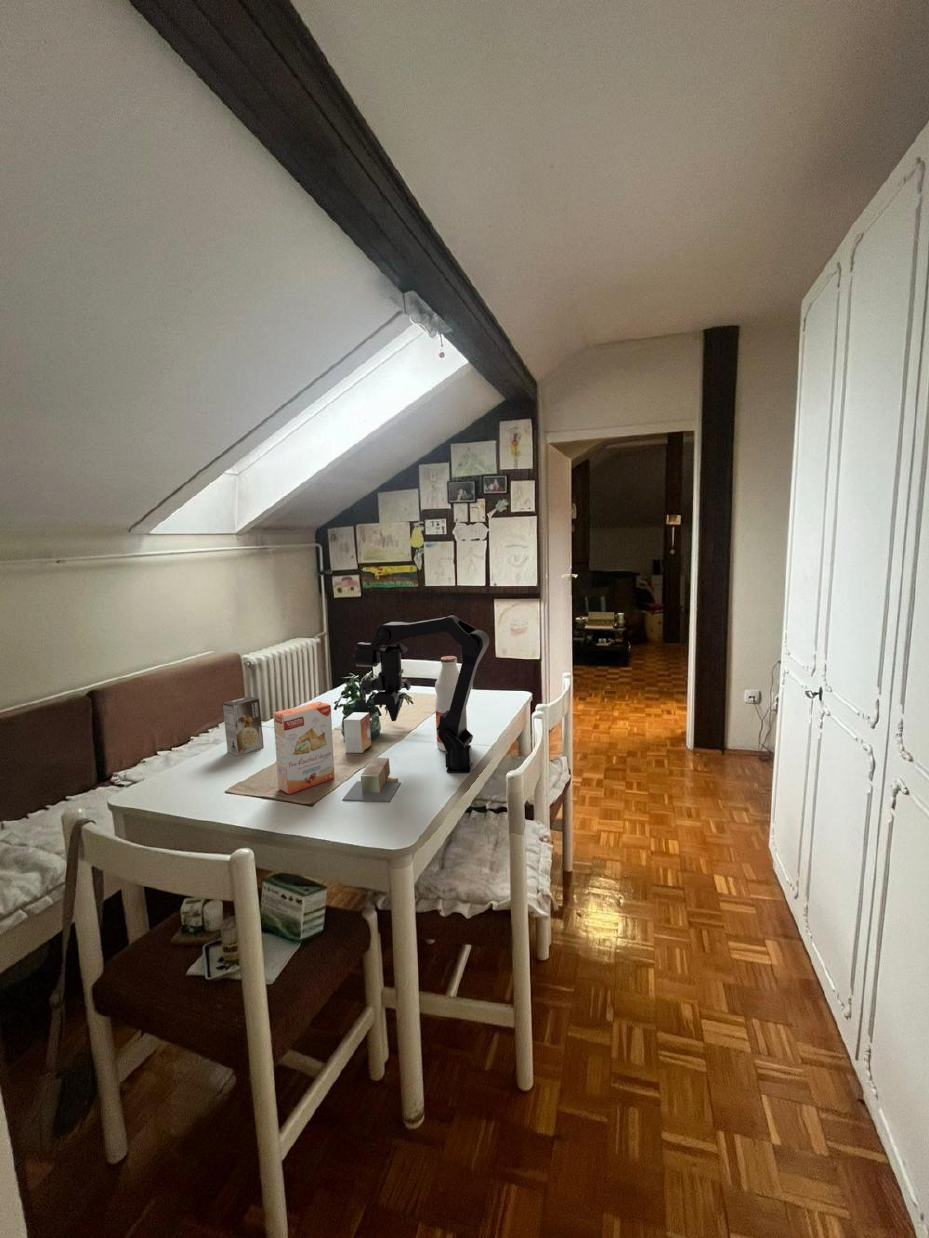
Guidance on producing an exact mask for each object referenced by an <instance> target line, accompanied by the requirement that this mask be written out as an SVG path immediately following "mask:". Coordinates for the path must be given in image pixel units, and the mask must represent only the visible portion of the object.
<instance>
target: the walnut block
mask: <svg viewBox="0 0 929 1238" xmlns="http://www.w3.org/2000/svg"><path fill="white" fill-rule="evenodd" d="M390 767H391V766H390V758H389V757H372V758H371V759H370V761H369V763H368V764H367V765H366V767H365V769H364V770H363V772H362V773H361V775H360V781H361V784H362V792H375V793H379V792H380V791H381V789H382V787H383V785H384V783H385V782H386V780H387V778H389V776H390V775H391V768H390Z"/></svg>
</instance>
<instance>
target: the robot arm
mask: <svg viewBox="0 0 929 1238" xmlns="http://www.w3.org/2000/svg"><path fill="white" fill-rule="evenodd" d="M445 632H446V633H448V634H449V635H450V636H451V637H452V639H453V640H454V641H455V642H456V643H458V644H459V645H461V649H460V650H461V651H460V654H461V666H460V670H459V676H458V680H457V684H456V687H455V691H454V695H453V699H452V702H451V706H450V710H449V711H448V710H447V711H446V712H445V713H444V714H442V715H441V716H440V720H439V726H438V728H437V729H436V730H439V731H438V737H439V738H440V740H441V741H442V742H443V744H444V747H445V749H446V751H445V753H444V755H445V757H444V758H445V760H444V761H445V768H446V773H466V774H467V773H471V770H472V768H473V765H474V763H473V762H472V745H471V743H472V741H473V738H474V735H473V734H472V733H471V732H470V731H469V730H468V728H467V729H466V728H465V723H466V718H465V709H466V710H467V705H468V701H469V698H470V694H471V691H472V686H473V683H474V679H475V676H476V672H477V669H478V666H479V663H480V662H481V660H482V659H483V656H484V655H485V653H486V651H487V649H488V647H489V645H490V637H489V635H488V634H487V633H486V632H485V631H483V630H481V629H477V628H476V627H475V626H473V625H471V624H470V623H468V622H465V621H463V620H462V619H460V618H459V616H458V617H457V616H456V615H451V614H450V615H449V616H446V617H439V618H434V619H428V620H427V619H426V620H421V621H416V622H415V621H414V622H405V621H390V622H388V623H384V624H382V625H378V627H377V629H376V632H375V637H374V638H373V640H372V641H371V642H358V643H356V647H355V649H354V653H353V655H352V656H353V662H354V665H355V666H356V667H365V668H366V667H368V668H369V667H372V668H373V667H374V668H375V667H377V666H378V665H379V664H380V671H379V673H378V674H377V675H376V676H374V677H371V678H369V677H368V678H366V679H363V680H361V681H362V682H361V684H360V686H361V687H360V690H361V691H363V692H364V694H365V695H368V694H370V692H373V691H376V690H378V691H377V692H376V693H375V695H374V696H373V697H372V705H374V706H386V709H387V712H388V714H389V716H390V717H389V718H390V719H391V722H396V721H397V719H398V716H399V713H400V710H401V708H402V705H403V702H404V701H405V700H404V699H405V697H406V696H407V695H406V693H401V692H402V691H401V690H403V689H406V691H409V690H410V689H411V681H410V680H408V679H407V678H403V676H402V674H404V668H402V656H401V653H402V654H403V653H405V652H407V651H408V650H409V648H408V647H407V646H405V645H404V644H403V642H400V641H403V640H405V639H408V638H414V637H418V636H425V635H431V634H439V633H445ZM397 642H399V643H397ZM394 643H397V645H393V644H394ZM384 646H386V647H385V648H384Z"/></svg>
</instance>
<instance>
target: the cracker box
mask: <svg viewBox="0 0 929 1238" xmlns="http://www.w3.org/2000/svg"><path fill="white" fill-rule="evenodd" d="M272 716H273V726H274V727H273V729H274V730H273V731H274V746H275V757H276V758H275V759H276V760H275V761H276V770H277V771H276V773H277V774H276V775H277V787H278V788H277V789H279V790H280V791H282V792H284V793H286V794H287V795H291V794H295V793H297V792H299V791H302V790H304V789H305V790H306V789H308V788H310V787H313V786H316V785H319V784H322V783H325V782H328V781H331V780H334V779H335V759H334V745H333V744H334V743H333V742H334V741H333V739H334V738H333V726H332V725H333V724H332V705H331V704H329V703H325V702H322V701H315V702H312V703H308V704H304V705H299V706H296V707H291V708H287V709H286V708H285V709H283V710H279V711H275V712H273V714H272Z"/></svg>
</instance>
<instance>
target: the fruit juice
mask: <svg viewBox="0 0 929 1238" xmlns="http://www.w3.org/2000/svg"><path fill="white" fill-rule="evenodd" d="M457 663H458V658H457V656H454V655H447V656H442V657H440V664H441V669H440V672H439V676H438V678H437V679H436V681H435V685H434V690H435V693H436V699H435V705H434V707H435V710H434V711H435V727H436V729H437V728H438V726H439V720H440V716H441V715H442V714H444V713H445V712H446V711H447V710H448V711H449V710H450V706H451V702H452V699H453V695H454V691H455V687H456V684H457V680H458V676H459V673H460V670H459V668H458V667H457ZM465 718H466V723H465V728H466V729H467V730H468V721H467V720H468V719H467V708H466V709H465ZM438 731H439V730H436V747H437V748H438V749H439V750H440V751H444V752H446V749H445V747H444V744H443V742H442V741H441V740H440V738H439V737H438Z"/></svg>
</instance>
